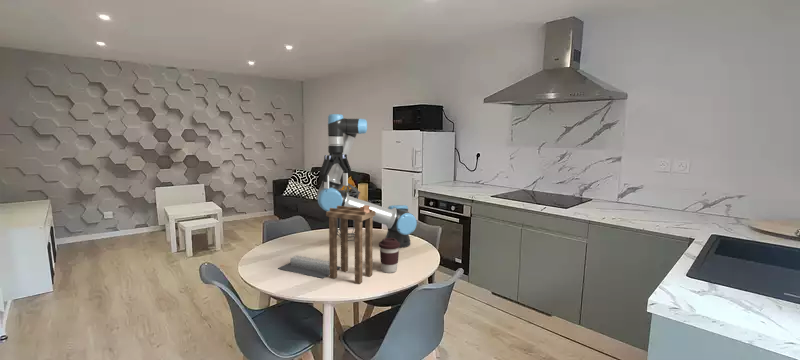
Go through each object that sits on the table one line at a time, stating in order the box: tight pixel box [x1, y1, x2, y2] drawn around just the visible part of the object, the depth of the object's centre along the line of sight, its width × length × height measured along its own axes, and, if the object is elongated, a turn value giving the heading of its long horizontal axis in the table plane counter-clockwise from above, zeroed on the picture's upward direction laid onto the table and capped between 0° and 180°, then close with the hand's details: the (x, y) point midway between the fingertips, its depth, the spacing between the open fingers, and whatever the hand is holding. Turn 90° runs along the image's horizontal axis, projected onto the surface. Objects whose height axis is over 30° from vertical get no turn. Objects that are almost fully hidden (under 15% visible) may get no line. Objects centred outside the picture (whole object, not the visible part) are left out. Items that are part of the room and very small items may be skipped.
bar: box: [290, 255, 330, 273], centre depth 178 cm, size 22×4×4 cm, turn 66°
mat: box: [277, 261, 341, 279], centre depth 179 cm, size 26×15×1 cm, turn 66°
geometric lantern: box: [337, 182, 361, 242], centre depth 226 cm, size 16×16×35 cm
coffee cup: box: [378, 237, 400, 274], centre depth 177 cm, size 10×10×15 cm
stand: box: [325, 205, 376, 285], centre depth 167 cm, size 18×12×33 cm, turn 66°
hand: (336, 186), depth 192 cm, fingers open, 13 cm apart
